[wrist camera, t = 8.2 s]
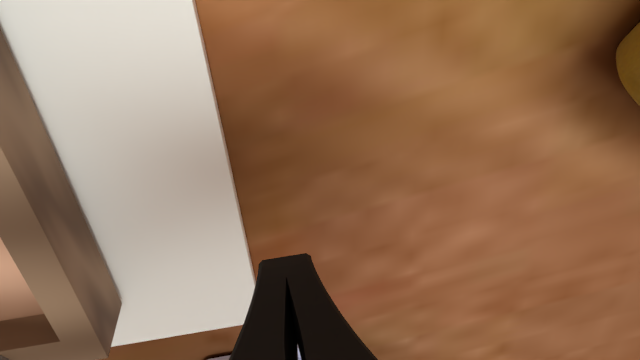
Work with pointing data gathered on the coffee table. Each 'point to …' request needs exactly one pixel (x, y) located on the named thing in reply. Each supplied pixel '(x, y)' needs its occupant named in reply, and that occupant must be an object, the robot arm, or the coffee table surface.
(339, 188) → the coffee table surface
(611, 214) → the coffee table surface
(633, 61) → the flower pot
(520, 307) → the coffee table surface
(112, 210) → the wall board
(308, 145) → the coffee table surface
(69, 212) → the wooden tray
